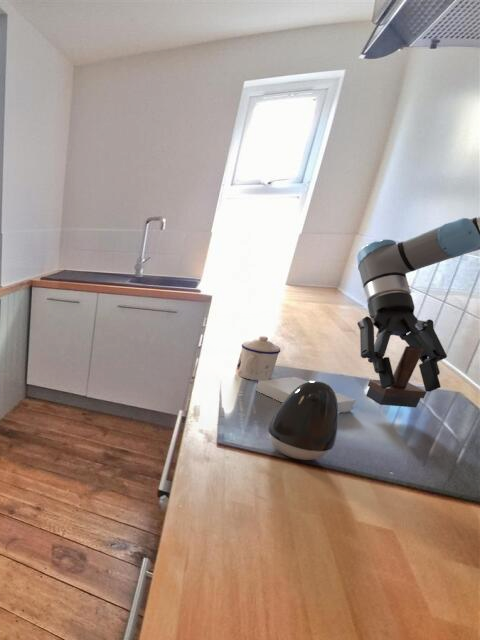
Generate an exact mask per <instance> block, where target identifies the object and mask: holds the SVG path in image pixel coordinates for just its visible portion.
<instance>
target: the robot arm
mask: <svg viewBox="0 0 480 640" xmlns="http://www.w3.org/2000/svg"><path fill="white" fill-rule="evenodd" d="M476 251H480V215H478V216H476V217H473V218H469V217H462V218H459V219H457V220H454V221H450V222H447V223H444V224H442V225H439V226H438V227H435V228H433V229H431V230H428V231H426V232H423V233H421V234H419V235H416V236H413V237H411V238H409V239H405V240H404V241H400V242H397V241H395V240H393V239H381V240H379V241H377V240H375V241H372V242H370V243H368V244H366V245H364V246H363V247H362V248H361V249H360V250H359V251H358V252H357V255H356V258H357V259H356V260H357V269H358V271H359V275H360V279H361V282H362V287H363V292H364V297H365V301H366V304H367V310H368V316H364V317H363V318H362V319H360V320H359V321H357V326H358V329H359V331H360V333H359V334H360V335H359V339H360V340H359V341H360V344H359V345H360V358H362V359H367V361H368V363H370V364H372V366H373V370H374V372H375V374H378V377H379V380H380V382H381V387H382V388H388V387H390V386H392V385H394V384H395V380H394V376H393V374H394V371H393V369H392V364H391V360H390V357H389V356H385V355H386V352H387V349H388V346H389V342H390V339H391V336H396V337H399V338H400V339H401V341H405V343H406V344H407V346H413V347H418V348H422V349H423V352H422V354H421V356H420V358H419V361H421V363H420V364H418V367H419V371H420V375H421V378H422V382H423V386H424V391H426V393H430V392H433V391H435V390H437V389H440V388H442V386H441V383H440V379H439V376H440V374H441V372H440V368H439V365H438V362H440V361H442V360H445V359H447V358H448V355H447V353H446V351H445V349H444V347H443V344H442V342H441V340H440V339H439V337H438V334H437V332H436V330H435V329H434V320H432V319H426V320H420V319H419V318H417V316H416V315H415V314H414V313H415V308H416V307H415V303H414V300H413V299H414V298H413V296H412V295H411V293H412V291H411V289H410V285H409V282H408V278H407V274H409V273H411V272H415V271H418V270H420V269H423V268H426V267H428V266H432V265H435V264H438V263H441V262H444V261H447V260H450V259H454V258H458V257H461V256H463V255H466V254H470V253H472V252H476ZM375 328H376V329H377V332H376V334H375ZM375 337H376V339H375Z"/></svg>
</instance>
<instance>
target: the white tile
mask: <svg viewBox="0 0 480 640" xmlns="http://www.w3.org/2000/svg"><path fill="white" fill-rule="evenodd" d="M257 382H258V383H257V386H256V389H255V392H256V391H258V392H257V393H259V392H260V393H259V394H261V393H263V394H265V395H267V396H270V397H272V398H274V399H276V400H279V401H280V402H284V401H285V399H286V398H287V397H288V396H289V394H290V393H291V392H292V391H293V390H295V389H296V388H297V387H298V386H300V385H301V384H303V383H305V382H309V381H308V380H305V379H303V378H300V377H297V376H292V377H282V378H273V379H272V378H271V379H270V380H262V381H257ZM334 393H335V395H336V398H337V402H338V412H344V413H348V412H347V411H351V412H352V410H353V408H354V405H355V404H356V399H353V398H351V397H348V396H346V395H343V394H341V393H338V392H336V391H334ZM263 394H262V395H263ZM265 395H264V396H265ZM267 396H266V397H267ZM274 399H273V400H274ZM276 400H275V401H276ZM280 402H279V403H280Z"/></svg>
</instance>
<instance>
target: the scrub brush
mask: <svg viewBox="0 0 480 640" xmlns="http://www.w3.org/2000/svg"><path fill="white" fill-rule="evenodd" d="M422 352H423V349H422V348H418V347H413V346H409V345H406V346H405V347H404V349H403V351H402V353H401V355H400V358H399V361H398V363H397V365H396V367H395V369H394V371H393V376H394V380H395V384H394V385H392V386H390V387H388V388H382V387H381V382H380V379H369V381H368V383H367V387H368V389H367V392H366V394H365V396H366V397H367V398H368V399H370V400H372V401H373V402H375V403H376V404H378V405H380V406H390V407H392V406H393V407H404V408H417V407H418V405H419V402H420V401H421V399H425V396H426V394H427V391H426V390H425V389H422V388H420V387H418V386H416V385H414V384H412V383H410V380H411V377H412V376H413V373H414V372H415V369H416V367H417V365H418V362H419V361H420V359H419V358H420V356H421V354H422Z"/></svg>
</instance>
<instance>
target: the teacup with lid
mask: <svg viewBox="0 0 480 640" xmlns="http://www.w3.org/2000/svg"><path fill="white" fill-rule="evenodd" d="M280 353H281V347H280V346H279V345H277V344H275V343H273V342H272V341H270V340H269V338H268V337H267V336H265V335H260V336H259V337H258V338H255V339H252V340H247V341H246V340H245V341H244V342H242V344H241V350H240V354H239V357H238V361H237V365H236V369H235V374H236V375H237V376H238V377H239V378H243V379H245V378H246V380H249V379H250V381H254V380H257V381H256V382H259V381H262V380H269V379H270V380H271V379H272V377H273V373H274V369H275V366H276V363H277V361H278V357H279V354H280Z"/></svg>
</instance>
